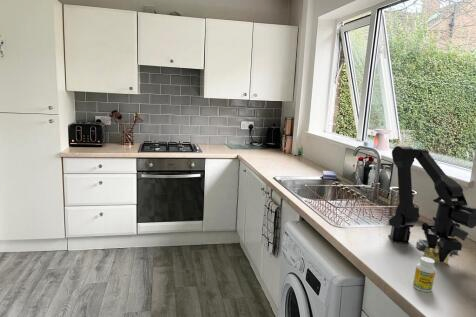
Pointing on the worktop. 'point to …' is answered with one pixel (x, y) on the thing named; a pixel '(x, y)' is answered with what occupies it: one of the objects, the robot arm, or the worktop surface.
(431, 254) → the gold block with knobs
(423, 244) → the open rectangular frame
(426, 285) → the supplement bottle
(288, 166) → the worktop surface
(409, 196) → the robot arm
